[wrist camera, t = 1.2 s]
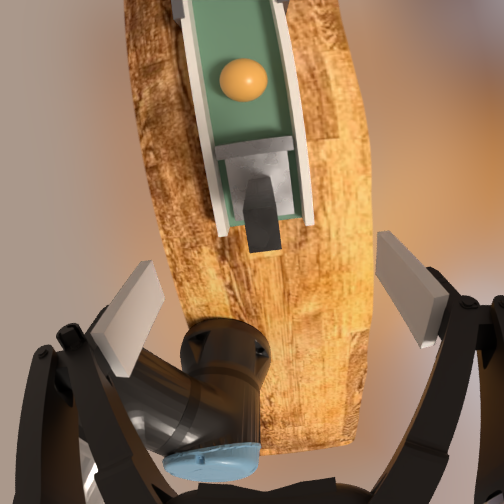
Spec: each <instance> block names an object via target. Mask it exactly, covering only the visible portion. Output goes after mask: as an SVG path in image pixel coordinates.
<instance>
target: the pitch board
mask: <svg viewBox="0 0 504 504" xmlns="http://www.w3.org/2000/svg"><path fill="white" fill-rule="evenodd" d="M183 5H184V13H185V18H183V19H181V24H182V32H183V39H184V45H185V52H186V59H187V65H188V72H189V78H190V84H191V91H192V97H193V103H194V109H195V114H196V120H197V126H198V132H199V137H200V143H201V148H202V154H203V159H204V165H205V170H206V175H207V181H208V186H209V191H210V196H211V201H212V206H213V211H214V216H215V221H216V226H217V231H218V236H219V237H223V236H227V235H228V231H229V228H230V227H232V226H239V225H245V223H244V220H242V221H235V215H234V210H233V204H232V198H231V193H230V187H229V181H228V176H227V170H226V164H225V159H223V160H216V154H215V148H214V147H215V146H217V145H219V144H224V143H230V142H237V141H243V140H250V139H257V138H264V137H272V136H281V135H291V136H292V139H293V147H294V150H288V151H287V154H288V162H289V170H290V178H291V187H292V196H293V205H294V214H288V215H280V216H278V220H285V219H294V218H303V221H304V223H305V225H306V226H309V225H314V213H313V201H312V190H311V180H310V170H309V161H308V152H307V143H306V135H305V127H304V120H303V113H302V106H301V99H300V93H299V86H298V80H297V74H296V68H295V63H294V57H293V52H292V46H291V41H290V36H289V31H288V26H287V21H286V17H285V12H284V8H283V3H278V2H277V0H183ZM240 58H247V59H252V60H254V61H256V62H258V63H259V64H261V65H262V66H263V68H264V69H265V71H266V73H267V78H268V83H267V87H266V89H265V91H264V92H263V94H262V95H261V96H259V97H258V98H257V99H255V100H252V101H249V102H238V101H234V100H232V99H230V98H229V97H227V96H226V95H225V94H224V92H223V91H222V89H221V87H220V81H219V80H220V74H221V72H222V70H223V68H224V67H225V66H226V65H227V64H228V63H230V62H231V61H233V60H236V59H240Z"/></svg>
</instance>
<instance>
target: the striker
mask: <svg viewBox="0 0 504 504" xmlns="http://www.w3.org/2000/svg"><path fill="white" fill-rule="evenodd" d="M214 148H215V154H216V160H223V159H225V164H226V170H227V176H228V181H229V187H230V193H231V198H232V204H233V210H234V215H235V221H242V220H244V223H245V229H246V235H247V240H248V246H249V252H250V253H255V252H263V251H271V250H279V249H282V248H281V239H280V231H279V223H278V216H280V215H288V214H294V205H293V196H292V187H291V178H290V170H289V162H288V154H287V151H288V150H294V147H293V139H292V136H291V135H281V136H272V137H264V138H257V139H250V140H243V141H237V142H230V143H224V144H219V145H217V146H215V147H214Z"/></svg>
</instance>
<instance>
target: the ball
mask: <svg viewBox="0 0 504 504" xmlns="http://www.w3.org/2000/svg"><path fill="white" fill-rule="evenodd" d="M219 81H220V87H221V89H222V91H223V92H224V94H225V95H226V96H227V97H229V98H230V99H232V100H234V101H238V102H249V101H252V100H255V99H257V98H258V97H259V96H261V95H262V94H263V92H264V91H265V89H266V87H267V83H268V78H267V73H266V71H265V69H264V68H263V66H262V65H261V64H259V63H258V62H256V61H254V60H252V59H247V58H240V59H236V60H233V61H231V62H230V63H228V64H227V65H226V66H225V67H224V68H223V70H222V72H221V74H220V80H219Z"/></svg>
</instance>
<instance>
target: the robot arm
mask: <svg viewBox="0 0 504 504" xmlns="http://www.w3.org/2000/svg"><path fill="white" fill-rule="evenodd" d="M375 274H376V276H377V277H378V278H379V280H380V282H381V283H382V285H383V287H384V288H385V290H386V291H387V293H388V294H389V296H390V297H391V299H392V301H393V302H394V304H395V306H396V307H397V309H398V311H399V312H400V314H401V316H402V317H403V319H404V321H405V322H406V324H407V325H408V327H409V329H410V331H411V333H412V334H413V336H414V338H415V340H416V341H417V343H418V345H419V347H420V349H422V348H426V347H429V346H433V345H434V344H435V342H436V339H437V336H439V337H440V338H441V340H442V342H441V344H440V348H439V350H438V353H437V356H436V360H435V363H434V366H433V369H432V372H431V374H430V377H429V380H428V382H427V385H426V388H425V390H424V393H423V395H422V397H421V400H420V403H419V405H418V407H417V409H416V411H415V414H414V416H413V418H412V420H411V422H410V425H409V427H408V429H407V431H406V433H405V435H404V437H403V439H402V441H401V443H400V444H399V446H398V448H397V450H396V452H395V454H394V456H393V457H392V459H391V461H390V462H389V464H388V466H387V468H386V469H385V471H384V472H383V474H382V476H381V477H380V478H379V480H378V481H377V483H376V484H375V486H374V487H373V489H372V490H371V492H369V491H367V490H365V489H362V488H360V487H357V486H353V485H349V484H342V483H336V481H335V477H332V478H326V479H320V480H312V481H303V482H299V483H296V484H292V485H289V486H286V487H283V488H279V489H275V490H271V491H268V492H262V491H257V490H252V489H248V488H243V487H239V486H234V485H228V484H207V483H199V485H198V490H193V491H188V492H185V493H183V494H180V495H178V494H177V493H176V492H175V491H174V490H173V489H172V488H171V487H170V486H169V484H168V483H167V482H166V480H165V479H164V477H163V476H162V474H161V473H160V471H159V469H158V468H157V466H156V465H155V463H154V461H153V460H152V458H151V457H150V455H149V453H148V451H147V450H150V451H152V452H155V453H157V454H159V455H162V456H163V457H164V459H163V461H162V462H163V466H164V469H165V470H166V471H167V472H169V473H170V474H171V475H174V476H176V477H179V478H183V479H187V480H193V481H201V482H225V481H233V480H238V479H242V478H245V477H247V476H249V475H251V474H252V473H253V472H255V470H256V469H257V467H258V461H259V450H260V449H261V444H260V389H261V386H262V384H263V382H264V379H265V377H266V375H267V372H268V370H269V367H270V363H271V352H270V346H269V343H268V341H267V340H266V338H265V337H264V336H263V334H262V333H261V332H259V331H258V330H257V329H255V328H254V327H252V326H250V325H248V324H246V323H243V322H240V321H236V320H231V319H211V320H207V321H203V322H201V323H198V324H196V325H195V326H193V327H192V328H191V329H190V330H189V331H188V332H187V333H186V335H185V337H184V339H183V342H182V346H181V350H180V358H181V365H182V371H181V370H179V369H177V368H176V367H174V366H172V365H171V364H169V363H167V362H165V361H164V360H162V359H161V358H159V357H157V356H156V355H154V354H153V353H151V352H149V351H148V350H146V349H144V348H143V345H144V343H145V340H146V338H147V336H148V334H149V332H150V330H151V327H152V325H153V323H154V321H155V319H156V317H157V314H158V312H159V310H160V308H161V306H162V304H163V302H164V300H165V297H164V294H163V291H162V289H161V286H160V283H159V280H158V277H157V274H156V271H155V268H154V265H153V262H152V260H149V261H141V262H140V263H139V265H138V266H137V268H136V269H135V270H134V271H133V273H132V274H131V275H130V277H129V278H128V280H127V281H126V282H125V284H124V285H123V286H122V288H121V289H120V291H119V292H118V293H117V295H116V296H115V298H114V299H113V300H112V302H111V303H110V305H107V306H106V307H105V308H103V309H102V310H101V311H100V313H99V314H98V315H97V318H95V320H94V321H93V323H92V324H91V326H90V327H89V329H88V330H87V332H86V333H85V334H83V332H82V330H81V328H80V326H79V325H78V324H76V323H71V324H68V325H66V326H64V327H62V328H61V329H60V330H59V331H58V333H57V335H56V338H57V340H58V342H59V343H60V345H61V346H62V348H63V351H59V352H55V350H54V349H53V347H52V346H51V345H44V346H41V347H40V348H38V349H37V351H36V352H35V353H34V355H33V359H32V363H31V367H30V371H29V375H28V379H27V384H26V389H25V394H24V399H23V405H22V411H21V417H20V424H19V432H18V442H17V453H16V474H15V476H16V477H15V492H16V493H15V496H14V500H13V504H102V503H103V501H104V502H105V504H429V502H430V500H431V498H432V496H433V494H434V492H435V490H436V488H437V486H438V484H439V482H440V480H441V477H442V475H443V472H444V470H445V468H446V465H447V463H448V460H449V455H448V454H447V453H448V449H449V446H450V443H451V441H452V438H453V435H454V432H455V429H456V426H457V423H458V420H459V417H460V413H461V410H462V407H463V403H464V399H465V395H466V392H467V387H468V383H469V379H470V374H471V370H472V364H473V359H474V354H475V350H477V357H478V367H479V378H480V398H481V432H480V450H479V462H478V471H477V478H476V486H475V494H474V504H504V296H503V295H498V296H496V297H494V299H493V302H492V305H480V304H479V302H478V301H477V300H476V299H474V298H472V297H470V296H464V295H462V296H461V295H460V294H459V293H458V292H457V290H456V289H455V288H454V287H453V286H452V285H451V284H450V283H449V282H448V281H447V280H446V279H445V278H444V276H443V275H442V274H441V273H440V272H439V271H438V270H436V269H434V268H432V267H424V265H422V263H421V262H420V261H419V260H418V259H417V258H416V257H415V256H414V255H413V254H412V253H411V252H410V251H409V250H408V249H407V248H406V247H405V246H404V245H403V244H402V243H401V242H400V241H399V240H398V239H397V238H396V237H395V236H394V235H393V234H392V233H391V232H390V231H382V232H377V256H376V272H375ZM146 449H147V450H146Z"/></svg>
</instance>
